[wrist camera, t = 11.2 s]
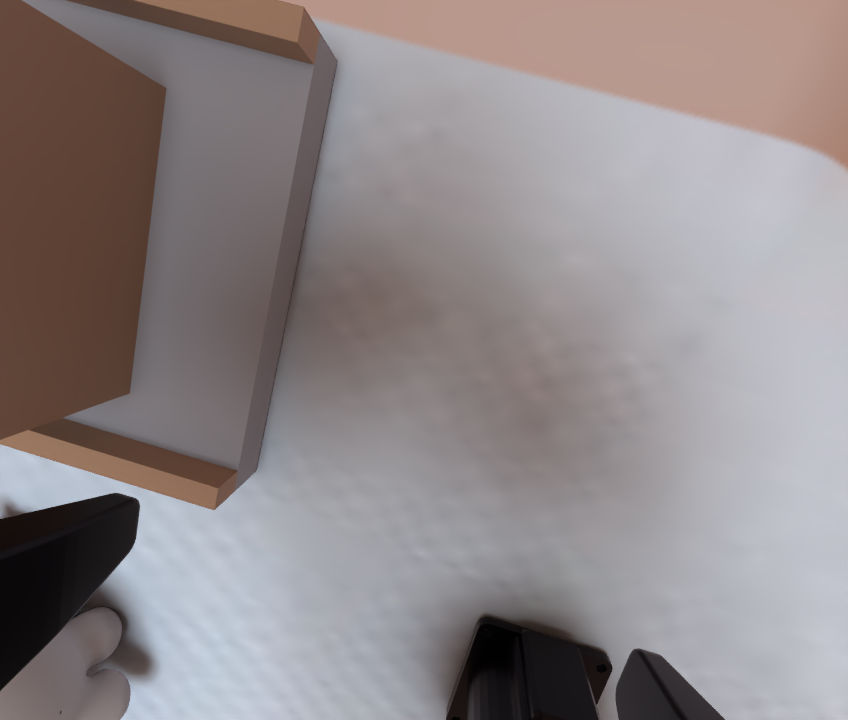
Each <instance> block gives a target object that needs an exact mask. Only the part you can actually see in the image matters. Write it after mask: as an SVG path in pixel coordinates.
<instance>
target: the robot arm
mask: <svg viewBox="0 0 848 720" xmlns="http://www.w3.org/2000/svg"><path fill="white" fill-rule="evenodd" d="M139 510H140V504H139V501H138V500H137V499H136V498H133V497H130V496H126V495H123V494H119V493H113V494H108V495H104V496H99V497H95V498H91V499H86V500H82V501H78V502H73V503H69V504H64V505H60V506H56V507H51V508H47V509H43V510H38V511H34V512H30V513H25V514H21V515H17V516H12V517H8V518H4V519H0V691H1V690H2V689H3V688H4V687H5V686H6V685H7V684H8V683H9V682H10V681H11V680H12V679H13V678H14V677H15V676H16V675H17V674H18V673H19V672H20V671H21V670H23V669H24V668H25V667H26V666H27V665H28V664H29V663H30V662H31V661H32V660H33V659H34V658H35V657H36V656H37V655H38V654H39V653H40V652H41V651H42V650H43V649H44V648H45V647H46V646H47V645H48V644H49V643H50V642H51V641H52V640H53V639H54V638H55V637H56V636H57V635H58V634H59V633H60V631H61V630H62V629H63V628H64V627H65V626H66V625H67V624H68V623H69V622H70V620H71V619H72V618H73V617H74V616H75V615H76V614H77V612H78V611H79V610H80V609H81V608H82V607H83V605H84V604H85V603H86V602H87V601H88V600H89V598H90V597H91V596H92V595H93V594H94V593H95V592H96V590H97V589H98V588H99V587H100V586H101V585H102V583H103V582H104V581H105V580H106V579H107V578H108V577H109V575H110V574H111V573H112V572H113V571H114V570H115V568H116V567H117V566H118V565H119V564H120V563H121V561H122V560H123V559H124V558H125V557H126V556H127V555H128V553H129V552H130V550H131V549H132V547H133V545H134V543H135V540H136V535H137V526H138V518H139ZM486 628H490V629H491V630H489V631H488V630H485V629H486ZM598 664H602V665H598ZM611 672H612V665H611V662H610V659H609V657H608V656H607V655H606V654H605V653H603V652H599V651H596V650H593V649H590V648H587V647H583V646H580V645H577V644H574V643H571V642H567V641H564V640H561V639H558V638H554V637H551V636H548V635H545V634H542V633H538V632H535V631H532V630H529V629H526V628H522V627H519V626H516V625H513V624H509V623H506V622H503V621H500V620H497V619H493V618H490V617H485V618H482V619H480V620H479V622H478V623H477V626H476V629H475V632H474V635H473V637H472V640H471V643H470V646H469V649H468V652H467V654H466V657H465V660H464V663H463V666H462V668H461V671H460V674H459V677H458V680H457V682H456V685H455V688H454V691H453V694H452V697H451V699H450V702H449V705H448V708H447V713H446V720H600V716H599V713H598V710H597V706H596V705H597V703H598V701H599V699H600V696H601V694H602V692H603V690H604V688H605V685H606V683H607V681H608V679H609V677H610V674H611ZM616 706H617V712H618V718H619V720H725V719H724V718H723V717H722V716H721V715H720V714H719V713H718V712H717V711H716V710H715V709H714V708H713V707H712V706H711V705H710V704H709V703H708V702H707V701H706V700H705V699H704V698H703V697H702V696H701V695H700V694H699V693H698V692H697V691H696V690H695V689H694V688H693V687H692V686H691V685H690V684H689V683H688V682H687V681H686V680H685V679H684V678H683V677H682V676H681V675H680V674H679V673H678V672H677V671H676V670H675V669H674V668H673V667H672V666H671V665H670V664H669V663H668V662H667V661H666V660H665V659H664V658H663V657H662V656H660V655H659V654H656V653H653V652H649V651H646V650H643V649H634V650H633V651H632V652H631V654H630V655H629V658H628V660H627V663H626V665H625V667H624V670H623V672H622V674H621V677H620V679H619V681H618V684H617V687H616ZM455 716H456V717H455Z"/></svg>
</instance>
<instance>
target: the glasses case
mask: <svg viewBox="0 0 848 720" xmlns="http://www.w3.org/2000/svg"><path fill="white" fill-rule="evenodd" d="M166 89H167V88H165V87H164V86H162V85H160V84H159V83H157V82H155V81H154V80H152V79H150V78H149V77H147V76H146V75H144V74H142V73H141V72H139V71H137V70H136V69H134V68H132V67H131V66H129V65H127V64H126V63H124V62H123V61H121V60H119V59H118V58H116V57H114V56H113V55H111V54H109V53H108V52H106V51H104V50H103V49H101V48H99V47H98V46H96V45H95V44H93V43H91V42H90V41H88V40H86V39H85V38H83V37H81V36H80V35H78V34H76V33H75V32H73V31H71V30H70V29H68V28H67V27H65V26H63V25H62V24H60V23H58V22H57V21H55V20H53V19H52V18H50V17H48V16H47V15H45V14H43V13H42V12H40V11H39V10H37V9H35V8H34V7H32V6H30V5H29V4H27V3H25V2H24V1H22V0H0V440H2V439H4V438H7V437H10V436H13V435H15V434H18V433H21V432H24V431H27V430H29V429H32V428H35V427H38V426H41V425H43V424H46V423H49V422H52V421H54V420H57V419H60V418H63V417H66V416H68V415H71V414H74V413H77V412H79V411H82V410H85V409H88V408H91V407H93V406H96V405H99V404H102V403H105V402H107V401H110V400H113V399H116V398H118V397H121V396H124V395H127V394H130V387H131V379H132V371H133V362H134V354H135V346H136V337H137V329H138V321H139V313H140V304H141V296H142V288H143V280H144V271H145V263H146V255H147V246H148V238H149V230H150V222H151V213H152V205H153V197H154V188H155V180H156V172H157V164H158V155H159V147H160V139H161V131H162V122H163V114H164V106H165V97H166Z"/></svg>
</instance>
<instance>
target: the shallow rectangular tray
mask: <svg viewBox="0 0 848 720" xmlns="http://www.w3.org/2000/svg"><path fill="white" fill-rule="evenodd" d="M22 1H24V2H25V3H27V4H29V5H30V6H32V7H34V8H35V9H37V10H39V11H40V12H42V13H43V14H45V15H47V16H48V17H50V18H52V19H53V20H55V21H57V22H58V23H60V24H62V25H63V26H65V27H67V28H68V29H70V30H71V31H73V32H75V33H76V34H78V35H80V36H81V37H83V38H85V39H86V40H88V41H90V42H91V43H93V44H95V45H96V46H98V47H99V48H101V49H103V50H104V51H106V52H108V53H109V54H111V55H113V56H114V57H116V58H118V59H119V60H121V61H123V62H124V63H126V64H127V65H129V66H131V67H132V68H134V69H136V70H137V71H139V72H141V73H142V74H144V75H146V76H147V77H149V78H150V79H152V80H154V81H155V82H157V83H159V84H160V85H162V86H164V87H165V88H167V89H166V97H165V106H164V114H163V122H162V131H161V139H160V147H159V155H158V164H157V172H156V180H155V188H154V197H153V205H152V213H151V222H150V230H149V238H148V246H147V255H146V263H145V271H144V280H143V288H142V296H141V304H140V313H139V321H138V329H137V337H136V346H135V354H134V362H133V371H132V379H131V387H130V394H127V395H124V396H121V397H118V398H116V399H113V400H110V401H107V402H105V403H102V404H99V405H96V406H93V407H91V408H88V409H85V410H82V411H79V412H77V413H74V414H71V415H68V416H66V417H63V418H60V419H57V420H54V421H52V422H49V423H46V424H43V425H41V426H38V427H35V428H32V429H29V430H27V431H24V432H21V433H18V434H15V435H13V436H10V437H7V438H4V439H2V440H0V444H2V445H5V446H8V447H11V448H14V449H18V450H21V451H24V452H27V453H31V454H34V455H37V456H40V457H44V458H47V459H50V460H53V461H57V462H60V463H63V464H66V465H70V466H73V467H76V468H79V469H82V470H86V471H89V472H92V473H95V474H99V475H102V476H105V477H108V478H112V479H115V480H118V481H121V482H125V483H128V484H131V485H134V486H138V487H141V488H144V489H147V490H150V491H154V492H157V493H160V494H163V495H167V496H170V497H173V498H176V499H180V500H183V501H186V502H189V503H193V504H196V505H199V506H202V507H206V508H209V509H212V510H215V509H216V508H217V507H218V506H219V505H220V504H221V503H223V502H224V501H225V500H226V499H227V498H228V497H229V496H230V495H231V494H232V493H233V492H234V491H235V490H236V489H237V488H239V487H240V486H241V485H242V484H243V483H244V482H245V481H246V480H247V479H248V478H249V477H250V476H251V475H252V474H253V473H255V472H256V469H257V464H258V459H259V454H260V449H261V444H262V439H263V434H264V429H265V424H266V419H267V414H268V409H269V404H270V399H271V394H272V388H273V383H274V378H275V373H276V368H277V363H278V358H279V353H280V348H281V343H282V338H283V333H284V328H285V323H286V318H287V313H288V308H289V303H290V298H291V292H292V287H293V282H294V277H295V272H296V267H297V262H298V257H299V252H300V247H301V242H302V237H303V232H304V227H305V222H306V217H307V212H308V207H309V202H310V196H311V191H312V186H313V181H314V176H315V171H316V166H317V161H318V156H319V151H320V146H321V141H322V136H323V131H324V126H325V121H326V116H327V111H328V106H329V100H330V95H331V90H332V85H333V80H334V75H335V70H336V65H337V59H336V58H335V56H334V55H333V53H332V51H331V50H330V48H329V46H328V45H327V43H326V42H325V40H324V38H323V37H322V35H321V34H320V32H319V30H318V29H317V27H316V26H315V24H314V22H313V21H312V19H311V18H310V16H309V14H308V13H307V11H306V10H305V8H304V7H302V6H298V5H294V4H290V3H286V2H282V1H279V0H22Z"/></svg>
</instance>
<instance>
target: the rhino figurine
mask: <svg viewBox="0 0 848 720" xmlns="http://www.w3.org/2000/svg"><path fill="white" fill-rule="evenodd" d="M121 635H122V624H121V621H120V619H119V617H118V615H117V614H116V613H115V612H114V611H113V610H111V609H109V608H106V607H99V608H94V609H91V610H89V611H86V612H84V613H82V614H80V615H78V616H77V617H75V618H74V619H72V620H71V621H70V622H69V623H68V624H67V625H66V626H65V627H64V628H63V629H62V630H61V631H60V633H59V634H58V635H57V636H56V637H55V638H54V639H53V640H52V641H51V642H50V643H49V644H48V645H47V646H46V647H45V648H44V649H43V650H42V651H41V652H40V653H39V654H38V655H37V656H36V657H35V658H34V659H33V660H32V661H31V662H30V663H29V664H28V665H27V666H26V667H25V668H24V669H23V670H21V671H20V672H19V673H18V674H17V675H16V676H15V677H14V678H13V679H12V680H11V681H10V682H9V683H8V684H7V685H6V686H5V687H4V688H3V689H2V690H1V691H0V720H120V719H121V718H122V717H123V715H124V714H125V712H126V710H127V708H128V705H129V701H130V685H129V682H128V680H127V678H126V677H125V676H124V675H123V674H122V673H121V672H119V671H117V670H114V669H104V670H101V671H99V672H97V673H95V674H94V675H92V676H90V677H89V676H87V671H88V669H89V668H90V667H92V666H94V665H96V664H98V663H100V662H102V661H103V660H105V659H106V658H108V657H109V656H110V655H111V654H112V653H113V652H114V651H115V649H116V648H117V646H118V644H119V641H120V638H121Z"/></svg>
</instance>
